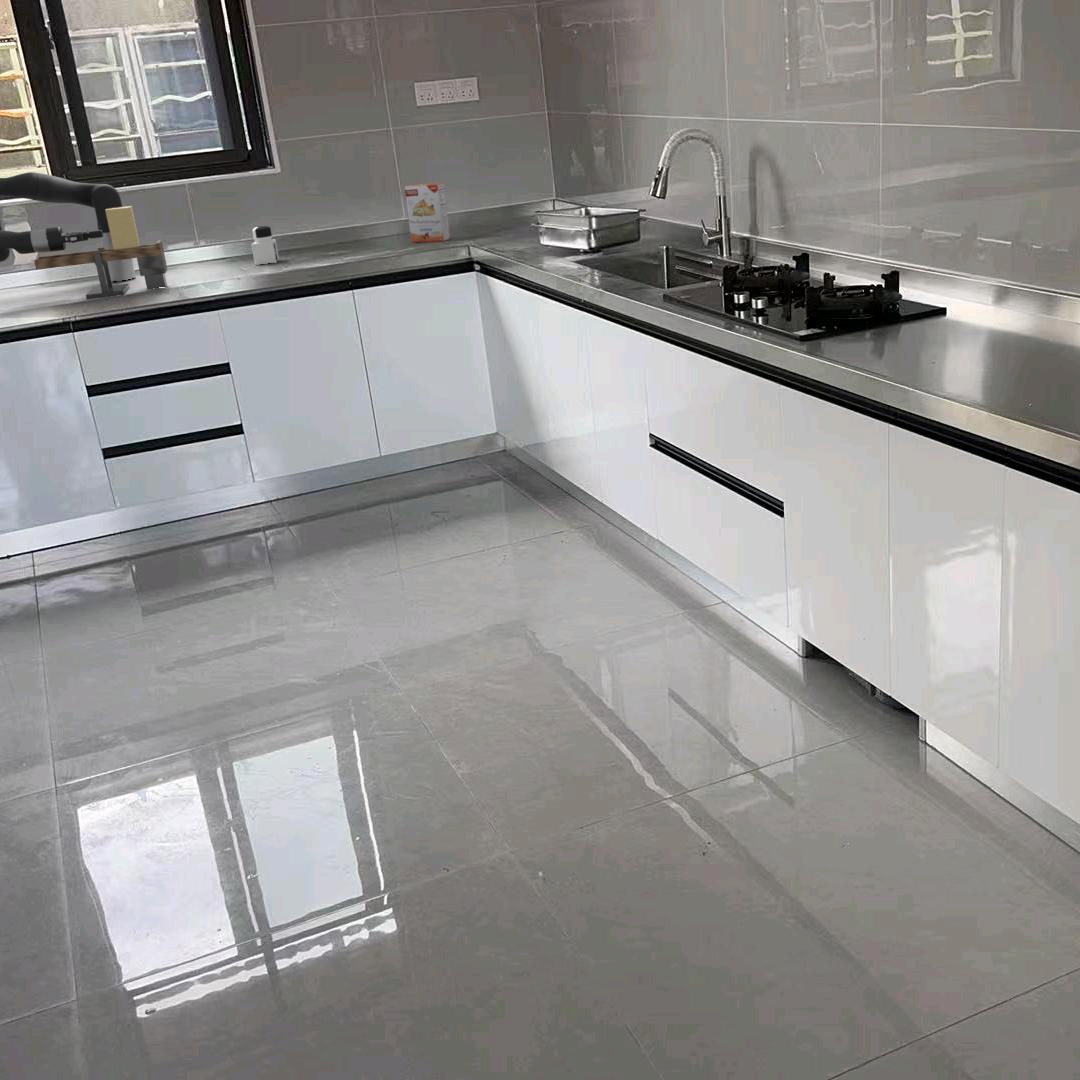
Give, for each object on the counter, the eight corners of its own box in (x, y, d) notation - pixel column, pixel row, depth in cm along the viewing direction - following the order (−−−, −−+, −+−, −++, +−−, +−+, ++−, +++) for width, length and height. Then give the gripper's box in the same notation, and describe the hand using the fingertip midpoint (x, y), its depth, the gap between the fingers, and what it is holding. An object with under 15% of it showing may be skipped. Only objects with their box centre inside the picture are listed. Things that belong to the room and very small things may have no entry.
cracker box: (410, 243, 458) (403, 186, 451) (418, 240, 464) (411, 184, 456) (443, 241, 453) (437, 184, 445) (451, 239, 458) (444, 182, 450)
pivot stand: (168, 283, 417) (159, 240, 412) (164, 290, 402) (155, 245, 397) (93, 292, 413) (83, 249, 408) (86, 299, 399) (76, 255, 393)
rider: (140, 248, 407) (131, 205, 402) (139, 250, 402) (130, 207, 397) (116, 251, 406) (107, 208, 400) (114, 253, 401) (105, 210, 396)
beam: (167, 269, 412) (161, 239, 409) (165, 273, 404) (159, 242, 400) (45, 283, 406) (38, 253, 402) (40, 287, 398) (33, 257, 394)
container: (279, 260, 447) (273, 224, 442) (275, 263, 440) (269, 226, 435) (258, 262, 447) (252, 226, 442) (254, 265, 440) (248, 229, 435)
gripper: (54, 249, 405) (107, 242, 407) (47, 254, 393) (102, 247, 395) (48, 226, 402) (102, 219, 405) (41, 230, 390) (97, 224, 392)
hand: (102, 233), depth 400 cm, fingers closed
